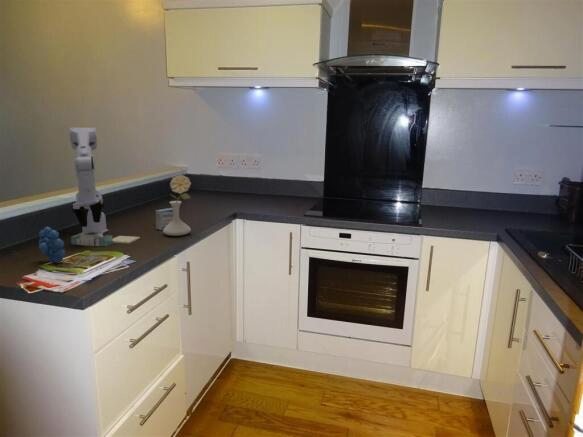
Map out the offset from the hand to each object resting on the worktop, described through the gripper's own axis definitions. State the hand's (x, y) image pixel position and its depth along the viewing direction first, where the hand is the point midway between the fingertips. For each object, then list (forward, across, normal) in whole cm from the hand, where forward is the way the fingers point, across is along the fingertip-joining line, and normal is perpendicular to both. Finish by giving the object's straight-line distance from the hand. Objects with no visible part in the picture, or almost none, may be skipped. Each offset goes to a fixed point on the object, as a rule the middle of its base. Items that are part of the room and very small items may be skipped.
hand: (90, 224), depth 162 cm
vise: (+8, 0, 0) cm, 8 cm away
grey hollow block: (+8, 0, 0) cm, 8 cm away
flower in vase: (+8, +20, -26) cm, 34 cm away
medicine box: (+8, +29, -16) cm, 34 cm away
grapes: (+8, -24, -2) cm, 25 cm away
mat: (+8, +7, -9) cm, 14 cm away
